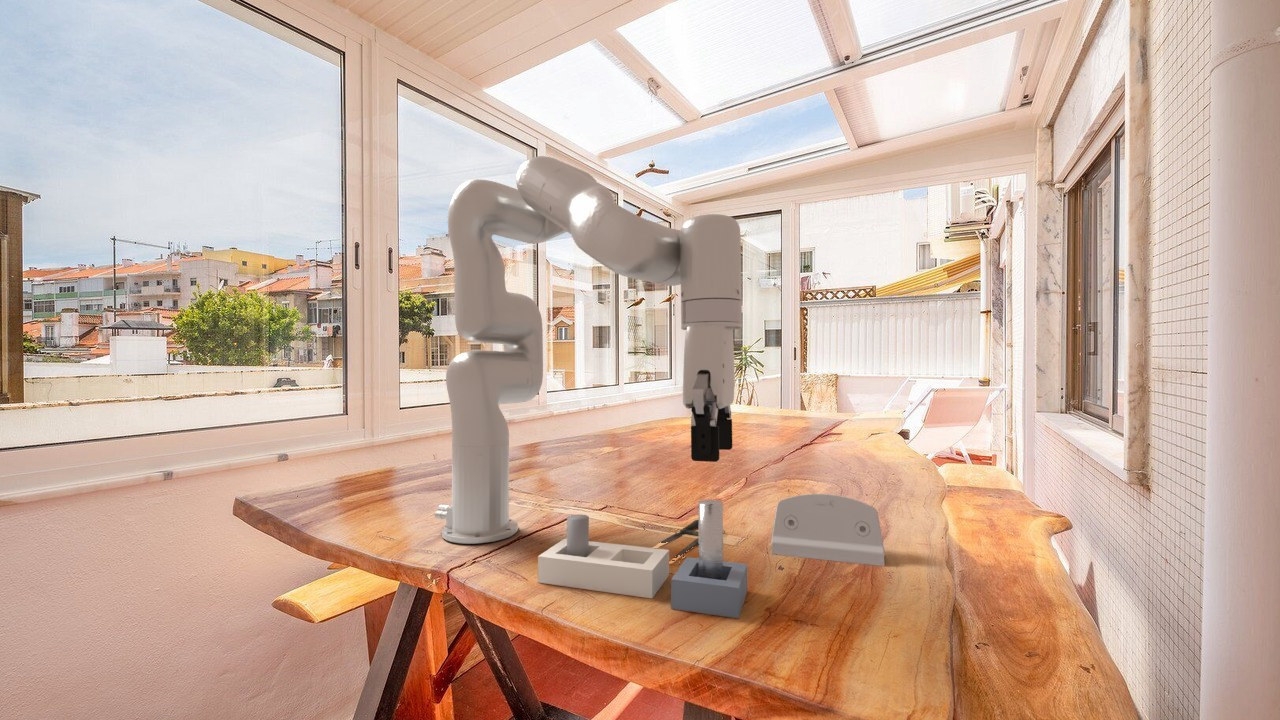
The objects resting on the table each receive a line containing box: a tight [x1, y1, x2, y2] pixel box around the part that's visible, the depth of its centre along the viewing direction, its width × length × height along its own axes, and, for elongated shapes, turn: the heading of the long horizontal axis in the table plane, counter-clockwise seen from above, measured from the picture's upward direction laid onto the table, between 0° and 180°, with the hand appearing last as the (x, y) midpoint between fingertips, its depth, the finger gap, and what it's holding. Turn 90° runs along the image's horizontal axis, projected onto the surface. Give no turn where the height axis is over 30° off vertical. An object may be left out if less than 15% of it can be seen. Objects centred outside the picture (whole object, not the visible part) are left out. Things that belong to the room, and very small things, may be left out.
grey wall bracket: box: [770, 493, 886, 567], centre depth 85 cm, size 17×5×10 cm, turn 72°
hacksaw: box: [660, 519, 726, 576], centre depth 88 cm, size 24×10×2 cm, turn 147°
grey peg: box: [698, 499, 724, 580], centre depth 68 cm, size 3×3×12 cm
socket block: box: [670, 556, 748, 619], centre depth 68 cm, size 8×8×4 cm
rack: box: [537, 514, 670, 599], centre depth 74 cm, size 16×8×8 cm, turn 72°
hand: (713, 454), depth 68 cm, fingers open, 9 cm apart
